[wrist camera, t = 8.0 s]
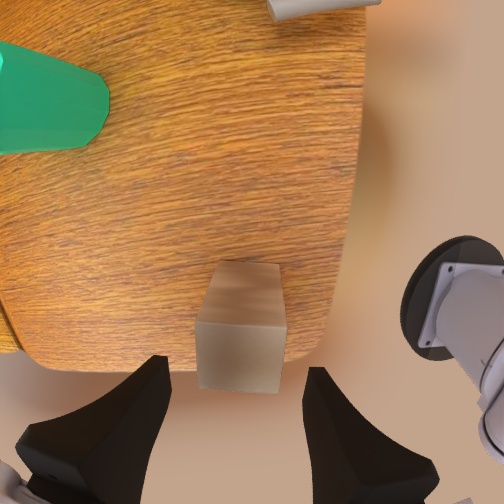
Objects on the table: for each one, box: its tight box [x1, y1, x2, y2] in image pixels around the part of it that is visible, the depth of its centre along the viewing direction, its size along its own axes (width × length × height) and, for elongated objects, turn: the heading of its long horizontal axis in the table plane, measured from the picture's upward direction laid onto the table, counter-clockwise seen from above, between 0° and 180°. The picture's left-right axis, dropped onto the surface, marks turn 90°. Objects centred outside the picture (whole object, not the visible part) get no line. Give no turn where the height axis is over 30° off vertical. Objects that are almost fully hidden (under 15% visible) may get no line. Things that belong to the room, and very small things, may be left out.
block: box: [195, 260, 288, 394], centre depth 17 cm, size 4×4×8 cm
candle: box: [0, 41, 109, 155], centre depth 12 cm, size 6×6×12 cm
